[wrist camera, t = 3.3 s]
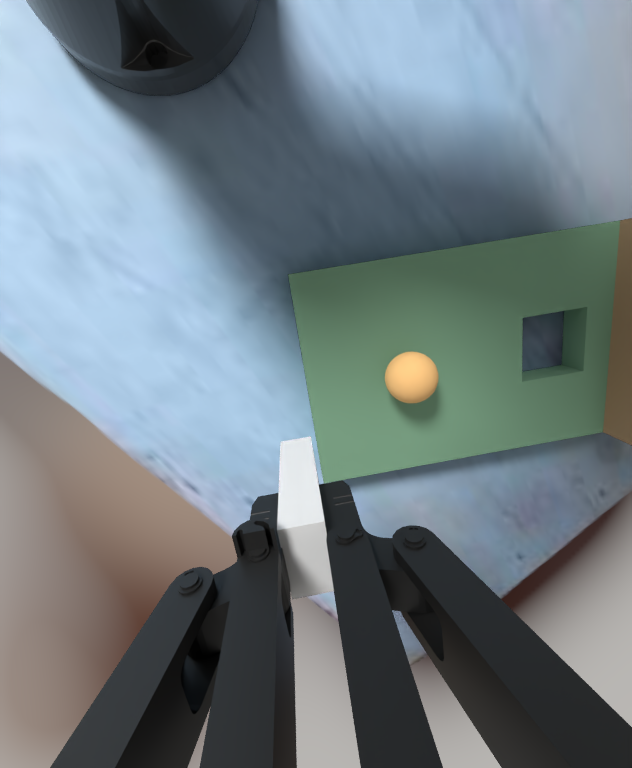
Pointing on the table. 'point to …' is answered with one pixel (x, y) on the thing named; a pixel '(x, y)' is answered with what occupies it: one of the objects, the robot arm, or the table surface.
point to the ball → (411, 377)
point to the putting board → (467, 348)
